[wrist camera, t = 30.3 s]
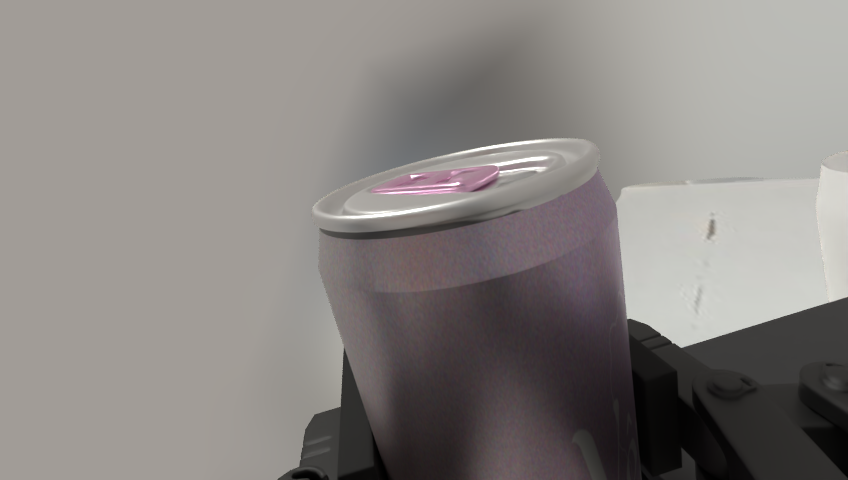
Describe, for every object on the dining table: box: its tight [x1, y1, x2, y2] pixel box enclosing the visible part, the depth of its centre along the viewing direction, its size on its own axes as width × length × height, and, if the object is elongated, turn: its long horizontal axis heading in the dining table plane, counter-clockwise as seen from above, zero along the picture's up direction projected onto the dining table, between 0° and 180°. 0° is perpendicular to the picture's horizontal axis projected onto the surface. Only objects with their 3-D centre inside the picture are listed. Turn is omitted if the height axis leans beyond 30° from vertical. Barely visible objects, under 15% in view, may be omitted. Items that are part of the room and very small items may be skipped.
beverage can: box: [312, 138, 642, 480], centre depth 11 cm, size 6×6×15 cm
